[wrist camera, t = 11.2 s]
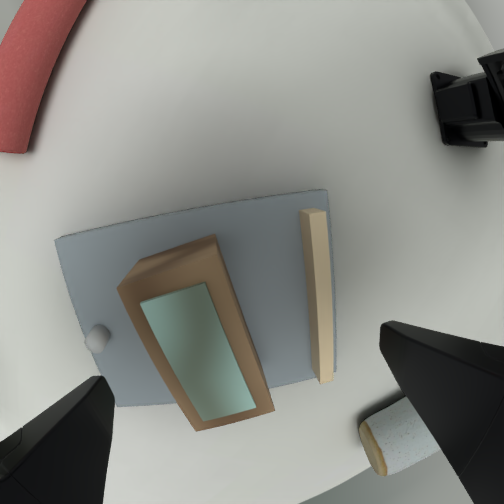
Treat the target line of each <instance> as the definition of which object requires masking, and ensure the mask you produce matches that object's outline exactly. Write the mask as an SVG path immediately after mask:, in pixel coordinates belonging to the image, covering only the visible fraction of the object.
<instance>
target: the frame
mask: <svg viewBox="0 0 504 504" xmlns="http://www.w3.org/2000/svg"><path fill="white" fill-rule="evenodd" d="M116 289H117V291H118V294H119V296H120V298H121V300H122V302H123V304H124V307H125V309H126V311H127V313H128V315H129V317H130V319H131V321H132V323H133V325H134V327H135V329H136V331H137V333H138V335H139V337H140V339H141V341H142V343H143V345H144V347H145V349H146V350H147V352H148V354H149V356H150V358H151V360H152V361H153V363H154V365H155V367H156V369H157V370H158V372H159V374H160V376H161V377H162V379H163V381H164V382H165V384H166V386H167V387H168V389H169V391H170V392H171V394H172V396H173V397H174V399H175V400H176V402H177V404H178V405H179V407H180V408H181V410H182V411H183V413H184V414H185V416H186V418H187V419H188V421H189V422H190V424H191V425H192V427H193V428H194V429H195V431H201V430H206V429H210V428H214V427H219V426H223V425H227V424H231V423H235V422H238V421H242V420H246V419H249V418H253V417H256V416H260V415H263V414H266V413H269V412H273V411H275V409H274V405H273V402H272V399H271V395H270V392H269V389H268V385H267V382H266V379H265V375H264V372H263V368H262V365H261V362H260V359H259V357H258V354H257V351H256V349H255V346H254V343H253V340H252V338H251V335H250V332H249V329H248V327H247V324H246V321H245V318H244V316H243V313H242V310H241V307H240V304H239V302H238V299H237V296H236V293H235V290H234V287H233V284H232V282H231V279H230V276H229V273H228V270H227V267H226V264H225V261H224V258H223V255H222V253H221V250H220V247H219V244H218V241H217V238H216V235H215V234H212V235H209V236H206V237H203V238H200V239H197V240H194V241H191V242H188V243H185V244H183V245H180V246H177V247H174V248H171V249H168V250H165V251H162V252H159V253H156V254H154V255H151V256H148V257H145V258H142V259H139V260H138V262H137V263H136V264H135V265H134V266H133V268H132V269H131V270H130V271H129V273H128V274H127V275H126V276H125V278H124V279H123V280H122V281H121V283H120V284H119V285H118V286H117V288H116Z"/></svg>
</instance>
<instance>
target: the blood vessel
mask: <svg viewBox="0 0 504 504" xmlns="http://www.w3.org/2000/svg"><path fill="white" fill-rule="evenodd" d="M86 1H87V0H24V2H23V3H22V5H21V7H20V8H19V10H18V12H17V14H16V15H15V17H14V19H13V21H12V23H11V25H10V26H9V28H8V30H7V33H6V34H5V36H4V38H3V41H2V43H1V45H0V152H7V153H23V154H24V153H25V152H26V151H27V147H28V143H29V139H30V135H31V131H32V127H33V124H34V121H35V117H36V114H37V111H38V108H39V104H40V101H41V98H42V96H43V93H44V90H45V87H46V84H47V82H48V79H49V77H50V74H51V72H52V69H53V67H54V64H55V62H56V60H57V57H58V55H59V53H60V51H61V48H62V46H63V44H64V42H65V40H66V38H67V36H68V34H69V32H70V30H71V28H72V26H73V24H74V22H75V20H76V19H77V17H78V15H79V13H80V11H81V10H82V8H83V6H84V4H85V3H86Z"/></svg>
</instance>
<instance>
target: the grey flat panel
mask: <svg viewBox="0 0 504 504" xmlns="http://www.w3.org/2000/svg"><path fill="white" fill-rule="evenodd" d="M212 234H215V235H216V238H217V241H218V244H219V247H220V250H221V253H222V255H223V258H224V261H225V264H226V267H227V270H228V273H229V276H230V279H231V282H232V284H233V287H234V290H235V293H236V296H237V299H238V302H239V304H240V307H241V310H242V313H243V316H244V318H245V321H246V324H247V327H248V329H249V332H250V335H251V338H252V340H253V343H254V346H255V349H256V351H257V354H258V357H259V359H260V362H261V365H262V368H263V372H264V375H265V379H266V382H267V385H268V389H269V388H274V387H279V386H283V385H287V384H292V383H296V382H300V381H304V380H308V379H312V378H316V377H317V379H318V381H319V383H320V384H323V383H327V382H330V381H333V373H334V372H336V309H335V284H334V266H333V251H332V237H331V225H330V215H329V204H328V195H327V190H322V189H319V190H311V191H303V192H295V193H288V194H281V195H274V196H267V197H260V198H254V199H247V200H241V201H234V202H228V203H222V204H216V205H211V206H205V207H199V208H194V209H188V210H183V211H177V212H172V213H167V214H162V215H157V216H152V217H147V218H142V219H137V220H132V221H127V222H123V223H118V224H113V225H109V226H104V227H100V228H96V229H91V230H87V231H83V232H79V233H74V234H70V235H66V236H62V237H60V238H58V239H56V240H54V241H55V245H56V250H57V253H58V257H59V261H60V265H61V268H62V272H63V275H64V279H65V282H66V285H67V289H68V292H69V295H70V298H71V301H72V304H73V307H74V310H75V313H76V315H77V318H78V321H79V323H80V326H81V329H82V331H83V334H84V336H85V345H86V347H87V349H88V350H89V351H91V353H92V356H93V358H94V360H95V363H96V365H97V367H98V369H99V371H100V374H101V376H104V377H105V378H106V380H107V382H108V384H109V386H110V388H111V390H112V392H113V394H114V397H115V404H116V406H117V407H126V406H145V405H159V404H171V403H177V402H176V400H175V399H174V397H173V396H172V394H171V392H170V391H169V389H168V387H167V386H166V384H165V382H164V381H163V379H162V377H161V376H160V374H159V372H158V370H157V369H156V367H155V365H154V363H153V361H152V360H151V358H150V356H149V354H148V352H147V350H146V349H145V347H144V345H143V343H142V341H141V339H140V337H139V335H138V333H137V331H136V329H135V327H134V325H133V323H132V321H131V319H130V317H129V315H128V313H127V311H126V309H125V307H124V304H123V302H122V300H121V298H120V296H119V294H118V291H117V289H116V288H117V286H118V285H119V284H120V283H121V281H122V280H123V279H124V278H125V276H126V275H127V274H128V273H129V271H130V270H131V269H132V268H133V266H134V265H135V264H136V263H137V262H138V260H139V259H142V258H145V257H148V256H151V255H154V254H156V253H159V252H162V251H165V250H168V249H171V248H174V247H177V246H180V245H183V244H185V243H188V242H191V241H194V240H197V239H200V238H203V237H206V236H209V235H212Z"/></svg>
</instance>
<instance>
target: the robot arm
mask: <svg viewBox="0 0 504 504" xmlns="http://www.w3.org/2000/svg"><path fill="white" fill-rule="evenodd" d="M477 60H478V62H479V64H480V65H482V67H483V70H484V72H482V73H478V74H474V75H471V76H467V77H463V78H460V77H456V76H453V75H449V74H445V73H441V72H433V73H431V79H432V83H433V87H434V92H435V97H436V102H437V107H438V113H439V119H440V125H441V131H442V139H443V142H444V144H445V145H451V146H470V147H487V145H488V142H487V141H504V49H500V50H497V51H494V52H492V53H489V54H487V55H484V56H482V57H479V58H477ZM436 77H437V78H436ZM379 347H380V351H381V353H382V355H383V357H384V358H385V360H386V362H387V364H388V366H389V368H390V370H391V372H392V374H393V375H394V377H395V379H396V381H397V383H398V385H399V386H400V388H401V389H402V391H403V392H404V394H405V395H406V397H407V398H408V400H409V401H410V403H411V404H412V406H413V407H414V409H415V410H416V412H417V413H418V415H419V416H420V418H421V419H422V421H423V422H424V424H425V425H426V427H427V428H428V430H429V431H430V433H431V434H432V436H433V437H434V439H435V441H436V442H437V444H438V445H439V447H440V448H441V450H442V451H443V453H444V455H445V456H446V458H447V459H448V461H449V463H450V464H451V466H452V467H453V469H454V471H455V472H456V474H457V476H459V479H460V481H461V483H462V484H463V486H464V487H465V489H466V491H467V493H468V494H469V496H470V498H471V499H472V501H473V503H474V504H504V347H503V346H498V345H493V344H488V343H484V342H481V343H480V342H479V341H475V340H471V339H467V338H462V337H458V336H454V335H450V334H445V333H441V332H437V331H433V330H429V329H425V328H421V327H417V326H413V325H409V324H405V323H401V322H397V321H393V320H392V321H388V322H385V323H383V324H382V325H381V327H380V342H379ZM114 407H115V397H114V394H113V392H112V390H111V388H110V386H109V384H108V382H107V380H106V378H105V377H104V376H92V377H90V378H89V379H87V380H86V381H85V382H83V383H82V384H81V385H79V386H78V387H76V388H75V389H74V390H72V391H71V392H70V393H68V394H67V395H65V396H64V397H63V398H61V399H60V400H59V401H57V402H56V403H54V404H53V405H52V406H50V407H49V408H48V409H46V410H45V411H43V412H42V413H41V414H39V415H38V416H37V417H35V418H34V419H32V420H31V421H30V422H28V423H27V424H25V425H24V426H23V428H20V429H18V430H17V431H16V432H14V433H13V434H11V435H10V436H9V437H7V438H6V439H4V440H3V441H1V442H0V504H103V497H104V489H105V481H106V474H107V467H108V461H109V454H110V448H111V442H112V434H113V419H114Z"/></svg>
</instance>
